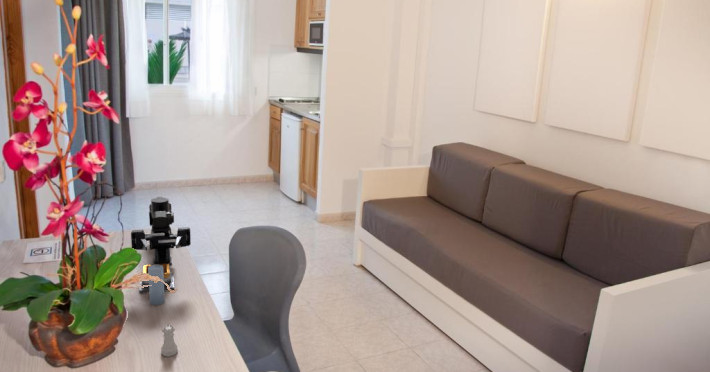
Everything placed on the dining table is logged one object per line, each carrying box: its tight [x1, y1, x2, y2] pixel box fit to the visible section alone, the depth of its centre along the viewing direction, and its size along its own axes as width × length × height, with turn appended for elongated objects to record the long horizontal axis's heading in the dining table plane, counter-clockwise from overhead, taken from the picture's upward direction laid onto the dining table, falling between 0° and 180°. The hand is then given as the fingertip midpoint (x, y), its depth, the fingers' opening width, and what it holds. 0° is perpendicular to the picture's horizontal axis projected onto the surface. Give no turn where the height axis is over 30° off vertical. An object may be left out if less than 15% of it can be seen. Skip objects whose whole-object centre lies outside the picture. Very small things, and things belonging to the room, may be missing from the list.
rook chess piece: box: [160, 324, 179, 358], centre depth 157 cm, size 4×4×8 cm
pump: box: [148, 264, 166, 306], centre depth 181 cm, size 6×4×12 cm
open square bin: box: [138, 263, 175, 294], centre depth 194 cm, size 11×11×6 cm
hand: (161, 247), depth 184 cm, fingers open, 9 cm apart
